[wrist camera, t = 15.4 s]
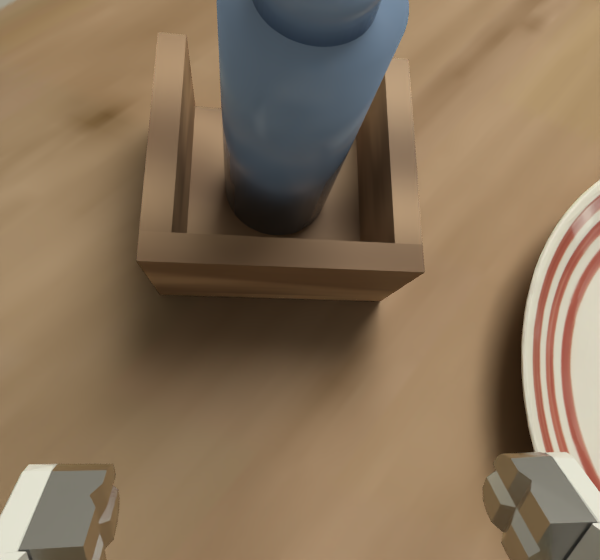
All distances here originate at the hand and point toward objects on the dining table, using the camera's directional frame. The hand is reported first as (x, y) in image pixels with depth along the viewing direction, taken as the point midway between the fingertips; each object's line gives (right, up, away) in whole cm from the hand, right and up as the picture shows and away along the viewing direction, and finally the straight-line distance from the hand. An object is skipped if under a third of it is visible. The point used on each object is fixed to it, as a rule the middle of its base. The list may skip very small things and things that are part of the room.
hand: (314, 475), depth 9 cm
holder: (-2, +8, +15) cm, 17 cm away
